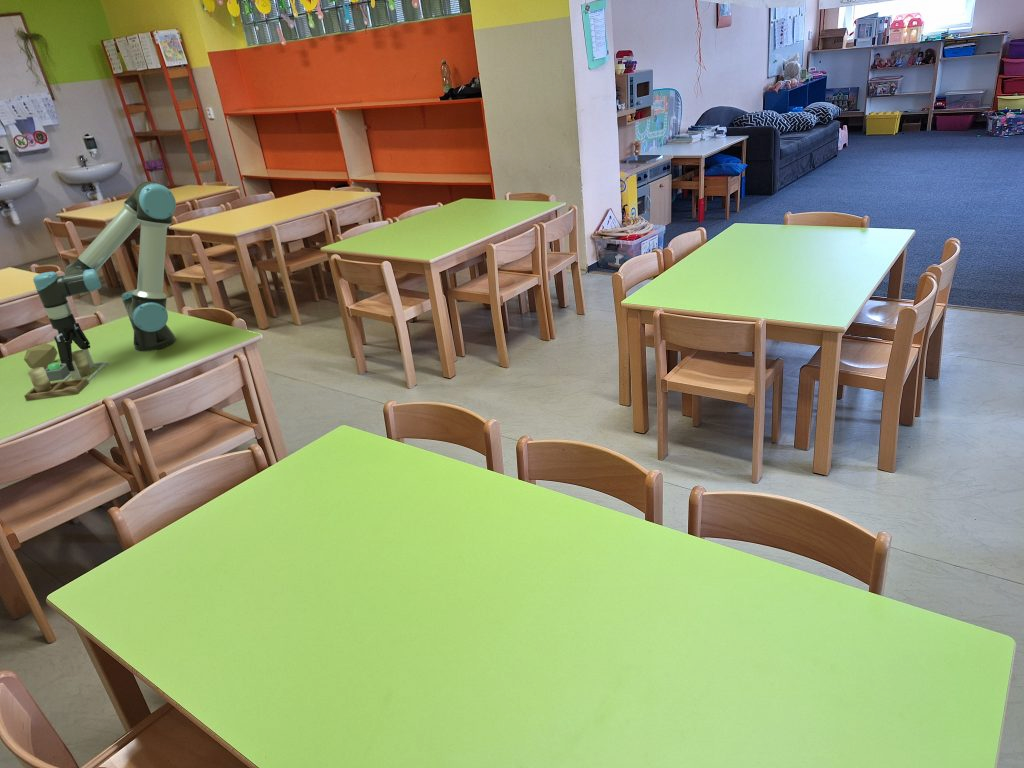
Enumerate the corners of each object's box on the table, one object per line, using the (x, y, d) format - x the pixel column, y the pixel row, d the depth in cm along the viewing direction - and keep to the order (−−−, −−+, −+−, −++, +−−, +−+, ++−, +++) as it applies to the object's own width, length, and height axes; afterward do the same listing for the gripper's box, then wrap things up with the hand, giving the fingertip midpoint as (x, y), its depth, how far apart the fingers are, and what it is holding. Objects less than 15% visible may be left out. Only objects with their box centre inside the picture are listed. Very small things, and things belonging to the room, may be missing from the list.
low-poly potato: (43, 377, 270) (67, 354, 274) (17, 358, 265) (41, 335, 269) (42, 376, 282) (65, 354, 286) (17, 358, 277) (40, 336, 281)
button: (66, 374, 267) (60, 361, 265) (61, 379, 264) (55, 365, 262) (56, 376, 267) (50, 362, 265) (51, 380, 264) (45, 367, 262)
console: (73, 373, 269) (68, 362, 267) (64, 381, 263) (59, 370, 261) (54, 376, 269) (49, 365, 267) (45, 384, 263) (40, 373, 261)
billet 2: (94, 371, 267) (85, 349, 264) (88, 377, 263) (79, 354, 259) (81, 373, 267) (72, 351, 263) (75, 378, 263) (65, 356, 259)
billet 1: (56, 389, 254) (46, 366, 250) (49, 395, 250) (39, 372, 246) (42, 391, 254) (32, 368, 250) (35, 397, 250) (24, 374, 246)
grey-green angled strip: (108, 365, 273) (107, 361, 272) (90, 383, 258) (88, 379, 257) (81, 369, 273) (79, 365, 272) (60, 387, 258) (59, 383, 257)
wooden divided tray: (89, 385, 257) (86, 377, 256) (78, 396, 249) (75, 388, 248) (40, 391, 256) (37, 384, 255) (27, 403, 248) (24, 395, 247)
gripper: (65, 306, 265) (87, 360, 275) (33, 328, 244) (58, 386, 254) (85, 303, 265) (106, 358, 275) (55, 325, 245) (79, 383, 254)
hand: (83, 371), depth 265 cm, fingers open, 10 cm apart
